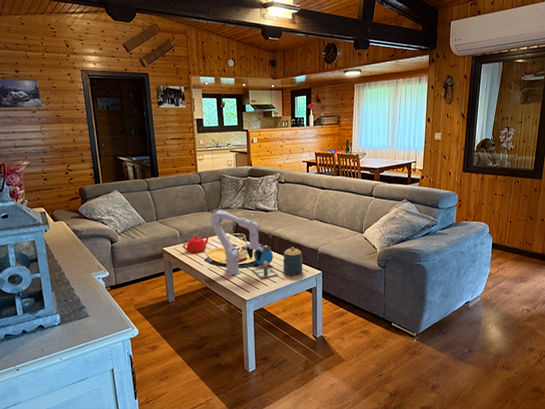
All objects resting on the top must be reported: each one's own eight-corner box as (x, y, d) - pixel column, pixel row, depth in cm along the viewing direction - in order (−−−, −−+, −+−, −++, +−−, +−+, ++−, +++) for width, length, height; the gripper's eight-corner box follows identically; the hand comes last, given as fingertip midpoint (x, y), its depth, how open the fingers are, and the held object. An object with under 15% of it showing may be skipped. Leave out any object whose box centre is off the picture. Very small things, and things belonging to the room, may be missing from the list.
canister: (290, 277, 239) (290, 251, 236) (279, 271, 250) (279, 246, 246) (306, 272, 246) (306, 247, 243) (294, 266, 257) (294, 242, 253)
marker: (262, 274, 243) (262, 262, 241) (265, 273, 245) (265, 260, 243) (265, 275, 241) (265, 263, 239) (268, 274, 243) (268, 262, 241)
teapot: (188, 256, 283) (187, 241, 280) (179, 251, 294) (177, 237, 292) (215, 248, 299) (215, 234, 297) (205, 244, 311) (204, 231, 308)
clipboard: (251, 271, 251) (251, 269, 251) (267, 267, 256) (267, 266, 256) (261, 279, 237) (261, 277, 237) (277, 275, 242) (277, 273, 242)
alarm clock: (273, 265, 261) (272, 245, 258) (268, 267, 256) (267, 247, 253) (259, 261, 269) (258, 242, 266) (253, 264, 264) (253, 244, 261)
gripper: (242, 239, 243) (243, 258, 246) (257, 243, 233) (258, 263, 236) (250, 236, 248) (250, 255, 251) (265, 241, 238) (265, 260, 241)
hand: (254, 259), depth 244 cm, fingers open, 7 cm apart
